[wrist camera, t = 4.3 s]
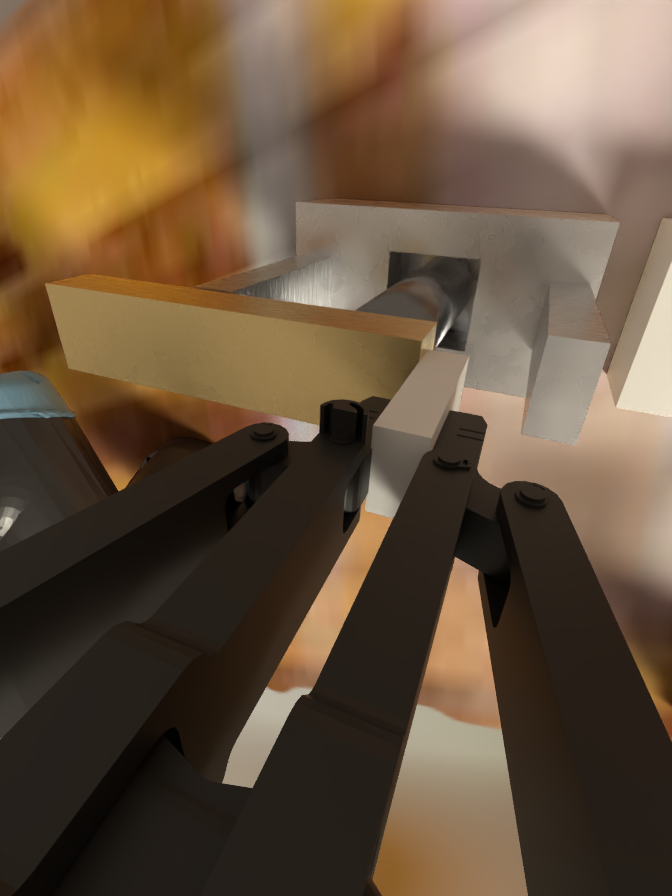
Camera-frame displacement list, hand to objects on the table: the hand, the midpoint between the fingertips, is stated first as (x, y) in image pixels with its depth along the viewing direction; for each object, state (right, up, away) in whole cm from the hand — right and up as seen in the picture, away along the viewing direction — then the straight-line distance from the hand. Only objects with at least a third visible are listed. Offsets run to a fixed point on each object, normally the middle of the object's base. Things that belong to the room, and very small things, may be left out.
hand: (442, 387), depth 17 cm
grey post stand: (+4, +10, +17) cm, 20 cm away
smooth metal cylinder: (+4, +9, +15) cm, 18 cm away
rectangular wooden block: (-8, +3, +4) cm, 9 cm away
